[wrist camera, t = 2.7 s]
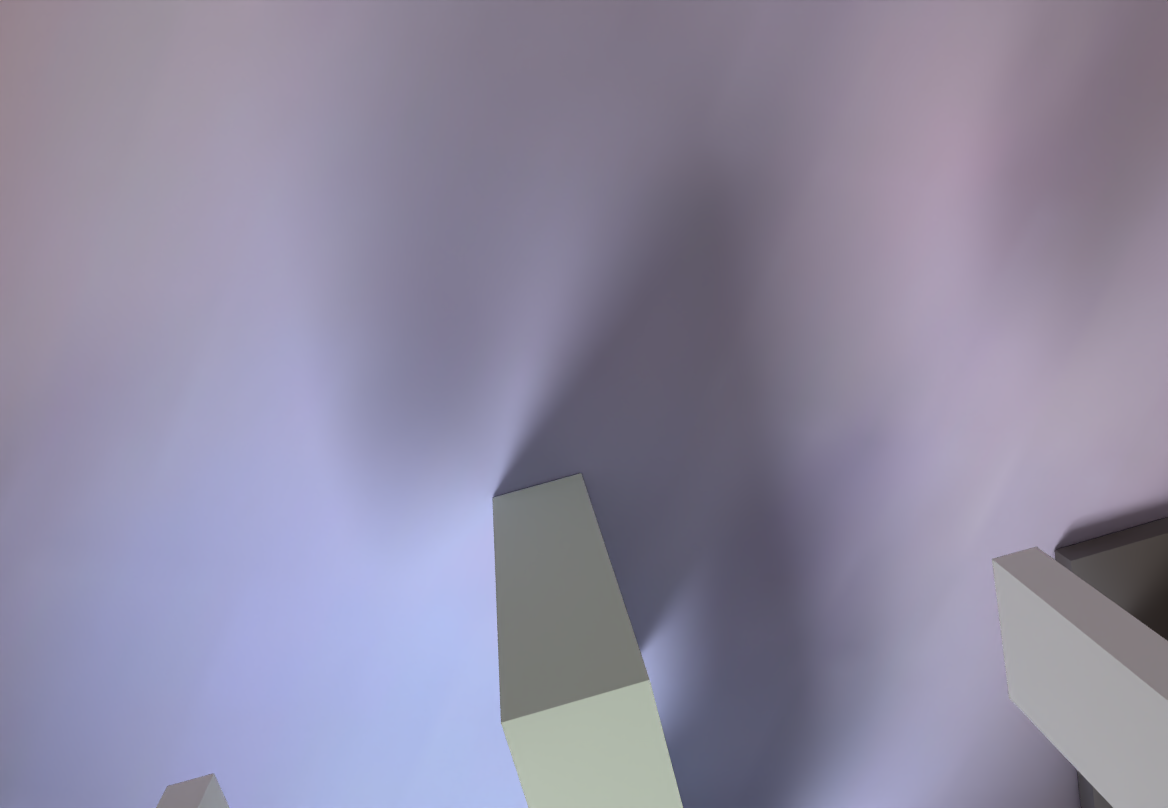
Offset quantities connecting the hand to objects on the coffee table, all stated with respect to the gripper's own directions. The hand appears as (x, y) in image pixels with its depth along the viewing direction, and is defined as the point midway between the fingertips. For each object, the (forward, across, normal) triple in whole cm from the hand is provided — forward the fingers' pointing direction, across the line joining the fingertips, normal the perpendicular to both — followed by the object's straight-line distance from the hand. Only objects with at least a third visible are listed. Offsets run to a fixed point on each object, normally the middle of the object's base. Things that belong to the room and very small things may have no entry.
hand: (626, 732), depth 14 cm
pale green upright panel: (+6, -1, -4) cm, 7 cm away
